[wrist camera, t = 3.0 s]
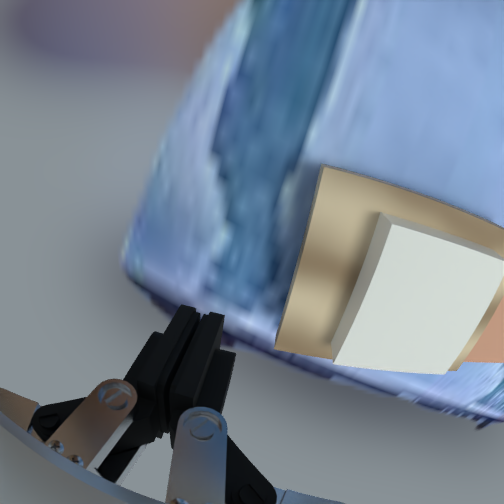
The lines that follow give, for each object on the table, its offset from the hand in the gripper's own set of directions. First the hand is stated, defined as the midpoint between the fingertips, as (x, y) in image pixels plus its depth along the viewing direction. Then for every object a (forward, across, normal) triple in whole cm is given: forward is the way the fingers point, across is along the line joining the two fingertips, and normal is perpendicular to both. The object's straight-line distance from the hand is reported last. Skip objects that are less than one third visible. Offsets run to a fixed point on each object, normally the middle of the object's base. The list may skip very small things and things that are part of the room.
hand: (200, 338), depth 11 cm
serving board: (+10, -12, -1) cm, 15 cm away
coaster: (+6, -12, -1) cm, 13 cm away
